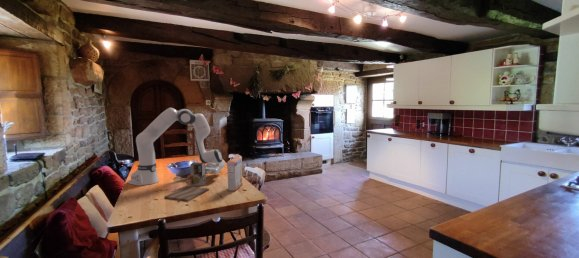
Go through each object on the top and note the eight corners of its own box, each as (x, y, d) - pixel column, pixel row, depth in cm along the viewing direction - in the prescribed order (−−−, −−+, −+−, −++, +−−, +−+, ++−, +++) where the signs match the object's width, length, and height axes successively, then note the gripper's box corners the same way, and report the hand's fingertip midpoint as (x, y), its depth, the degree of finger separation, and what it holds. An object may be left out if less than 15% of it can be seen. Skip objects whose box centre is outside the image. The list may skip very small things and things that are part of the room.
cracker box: (234, 184, 203) (234, 157, 201) (242, 185, 202) (242, 157, 200) (227, 191, 189) (226, 161, 187) (235, 191, 188) (235, 161, 186)
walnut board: (164, 198, 175) (164, 196, 175) (187, 187, 196) (187, 186, 196) (188, 201, 170) (188, 199, 170) (209, 190, 191) (208, 188, 191)
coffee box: (206, 183, 207) (205, 162, 205) (202, 186, 200) (202, 164, 198) (194, 182, 208) (193, 162, 206) (190, 185, 201) (189, 164, 199)
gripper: (200, 163, 222) (188, 167, 209) (222, 165, 216) (212, 169, 203) (200, 170, 223) (189, 175, 210) (222, 172, 217) (212, 177, 203)
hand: (200, 172), depth 206 cm, fingers open, 8 cm apart
